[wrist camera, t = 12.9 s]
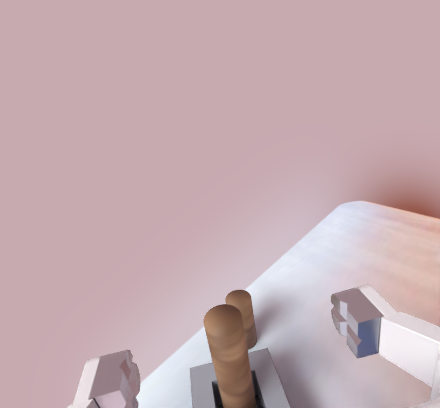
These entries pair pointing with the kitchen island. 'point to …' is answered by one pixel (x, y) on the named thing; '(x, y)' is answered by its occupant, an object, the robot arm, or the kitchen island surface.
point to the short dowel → (244, 314)
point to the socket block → (261, 376)
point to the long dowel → (230, 356)
